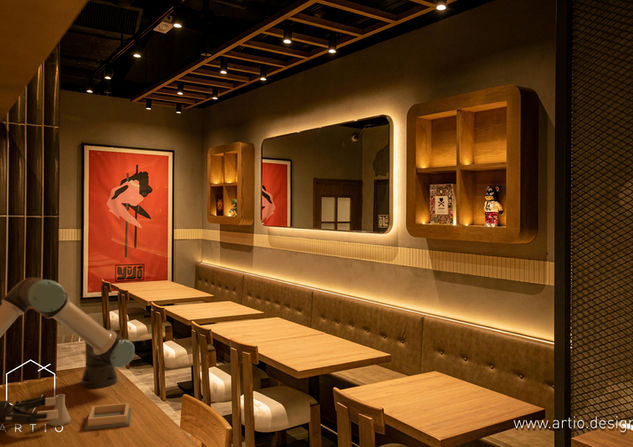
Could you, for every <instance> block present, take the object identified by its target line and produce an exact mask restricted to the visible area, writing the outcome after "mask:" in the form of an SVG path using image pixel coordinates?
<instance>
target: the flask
mask: <svg viewBox="0 0 633 447" xmlns="http://www.w3.org/2000/svg"><path fill="white" fill-rule="evenodd" d="M54 397H55V398H56V403H55V405H54V408H53V410H58V418H54V419H49V421H48V425H49V426H52V427H61V426H64V425H68V424H69V423H70V422H71V421H72V418H71V416H70V413H69V411H68V409H67V406H66V403H65V402H66V401H65V402H64V397H65V398H66V395H65V394H63V393H62V394H61V393H60V394H56V395H55V396H54Z"/></svg>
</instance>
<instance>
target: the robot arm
mask: <svg viewBox="0 0 633 447" xmlns="http://www.w3.org/2000/svg"><path fill="white" fill-rule="evenodd" d="M30 309H33V310H35V311H36V312H37V313H39V314H40V315H41V316H43V317H44V318H45V319H52V318H53V319H54V320H55V321H57V322H58V323H59V324H61V325H62V326H64V327H65V329H68V330H69V331H70V332H71V333H72V334H74V335H76V337H78V338H80V339H81V340H82V341H84V343H85V366H84V370H83V373H82V377H81V379H80V380H81V382H80V385H81V387H84V388H89V389H93V388H94V389H95V388H96V389H97V388H106V387H109V386H113V385H114V384H116V383H117V382H118V374H117V371H116V368H123V367H126V366H127V365H129V364H130V362H132V360H133V358H134V356H135V349H136V348H135V345H134V343H133V342H132V341H131V340H129V339H126V338H124V337H122V336H120V334H118V333H117V332H116V331H114V330H111V329H109V330H108V329H106V328H105V327H103V326H102V325H101V324H100V323H98V322H97V321H96V320H94V319H93V318H92V317H90V316H89V315H88V314H87V313H85V312H84V311H83V310H82V309H81V308H79V307H78V306H77V305H75V304H74V303H73V302H71V301H70V295H69V294H68V293H67V292H66V291H65V289H64V287H63V285H61V284H59V283H58V282H57V281H55V280H52V279H43V278H38V277H33V276H32V277H28V278H24V279H22V280H21V281H19V282H18V283H17V284H16V285H15V286H13V287H12V289H10V290H9V291H8V293H7V294H6V295H5V296H4V297H3V298H2V299H1V305H0V338H1V337H2V336H3V335H4V334H5V333H6V331H8V329H9V328H10V327H11V325H12V324H13V323H14V322H15V321H16V320H17V318H18V317H19V316H22V315H24V314H25V313H27V311H28V310H30ZM65 398H66V396H65V397H64V402H66V400H65ZM55 403H56V398H55V396H54V397H47V395H42V396H38V397H33V398H29V399H23V400H16V401H15V402H14V404H11V403H10V401H9V400H0V424H6V423H11V422H12V423H13V422H14V423H23V424H36V423H37V421H40V420H41V421H42V420H50V419H54V418H58V410H54V409H52V410H40V411H37V412H33V411H29V410H33V409H36V408H39V407H42V406H45V407H49V406H50V407H51V406H55Z"/></svg>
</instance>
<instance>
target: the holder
mask: <svg viewBox="0 0 633 447" xmlns="http://www.w3.org/2000/svg"><path fill="white" fill-rule="evenodd" d="M129 405H130V404H129V402H125V403H123V402H122V403H113V404H101V405H92V406H91V410H90V411H89V414H88V417H87V420H86V421H85V425H84V431H91V430H101V429H102V430H104V429H112V428H121V427H122V428H123V427H124V428H125V427H130V426H131V419H132V418H131V417H132V411H133V410H132V409H133V408H132V407H130V406H129Z"/></svg>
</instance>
